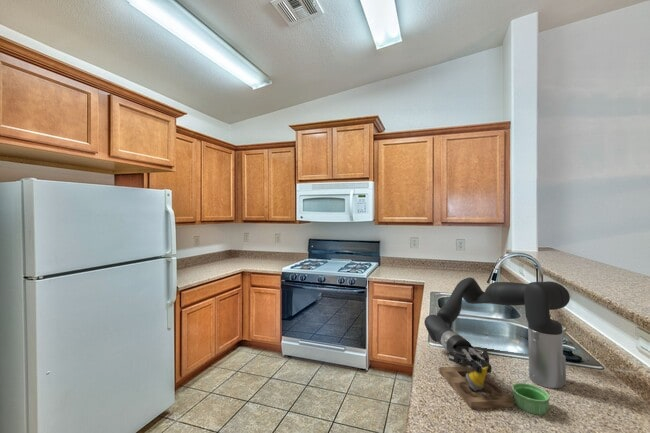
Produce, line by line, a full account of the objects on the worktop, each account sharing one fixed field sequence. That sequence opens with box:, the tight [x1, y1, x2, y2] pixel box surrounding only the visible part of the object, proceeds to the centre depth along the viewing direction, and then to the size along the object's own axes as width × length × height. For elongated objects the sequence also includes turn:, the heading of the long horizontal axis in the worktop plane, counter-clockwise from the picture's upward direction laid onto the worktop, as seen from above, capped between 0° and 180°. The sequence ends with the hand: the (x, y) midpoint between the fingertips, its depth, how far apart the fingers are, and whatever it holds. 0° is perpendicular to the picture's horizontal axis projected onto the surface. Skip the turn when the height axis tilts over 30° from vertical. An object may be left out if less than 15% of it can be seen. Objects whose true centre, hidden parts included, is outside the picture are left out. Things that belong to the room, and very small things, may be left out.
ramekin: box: [512, 382, 551, 416], centre depth 86 cm, size 9×9×4 cm
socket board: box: [438, 365, 515, 410], centre depth 95 cm, size 13×20×2 cm, turn 4°
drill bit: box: [466, 366, 488, 392], centre depth 91 cm, size 5×5×10 cm
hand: (485, 369), depth 89 cm, fingers closed on drill bit, 2 cm apart
